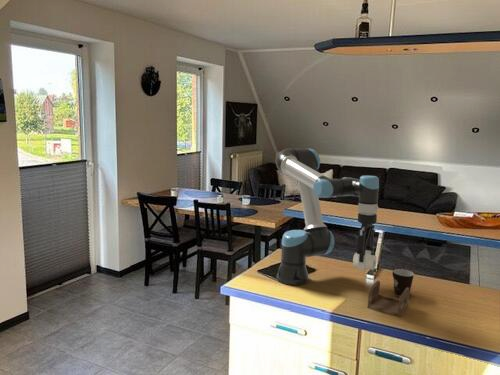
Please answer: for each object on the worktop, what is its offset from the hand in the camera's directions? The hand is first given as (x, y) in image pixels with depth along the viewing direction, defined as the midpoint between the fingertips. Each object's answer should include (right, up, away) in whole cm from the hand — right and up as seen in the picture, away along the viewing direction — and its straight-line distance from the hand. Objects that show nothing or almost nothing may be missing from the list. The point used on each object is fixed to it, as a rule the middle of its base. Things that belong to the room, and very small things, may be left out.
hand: (364, 267), depth 176 cm
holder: (+10, -16, -1) cm, 19 cm away
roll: (0, 0, -1) cm, 1 cm away
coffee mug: (+21, -14, +14) cm, 29 cm away
